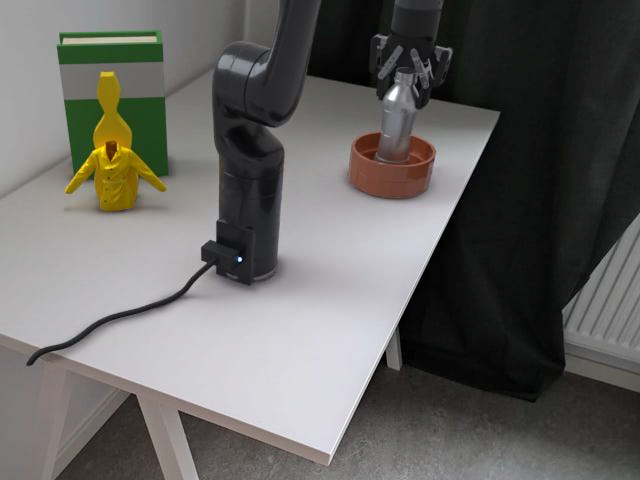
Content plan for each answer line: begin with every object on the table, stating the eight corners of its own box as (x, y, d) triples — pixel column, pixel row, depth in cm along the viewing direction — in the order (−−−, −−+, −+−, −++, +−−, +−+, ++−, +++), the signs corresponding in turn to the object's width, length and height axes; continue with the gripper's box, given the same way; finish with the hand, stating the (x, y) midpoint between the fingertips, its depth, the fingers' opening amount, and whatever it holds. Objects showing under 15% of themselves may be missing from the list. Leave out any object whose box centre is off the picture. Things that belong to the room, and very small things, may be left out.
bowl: (424, 205, 129) (432, 171, 125) (341, 192, 132) (345, 159, 128) (432, 169, 140) (439, 137, 136) (354, 158, 143) (359, 126, 139)
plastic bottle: (406, 188, 133) (427, 78, 120) (369, 184, 134) (386, 75, 121) (406, 172, 138) (427, 65, 125) (371, 169, 139) (388, 62, 126)
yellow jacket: (65, 214, 125) (46, 87, 111) (70, 193, 131) (52, 70, 117) (168, 212, 126) (162, 86, 112) (168, 191, 132) (162, 68, 118)
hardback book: (74, 179, 135) (56, 46, 120) (76, 161, 141) (59, 32, 125) (168, 175, 137) (162, 43, 121) (166, 158, 142) (160, 30, 127)
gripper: (368, -1, 116) (354, 101, 127) (454, 14, 110) (432, 120, 121) (386, -11, 121) (372, 88, 132) (470, 3, 115) (447, 105, 126)
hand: (401, 103), depth 127 cm, fingers closed on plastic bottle, 6 cm apart
